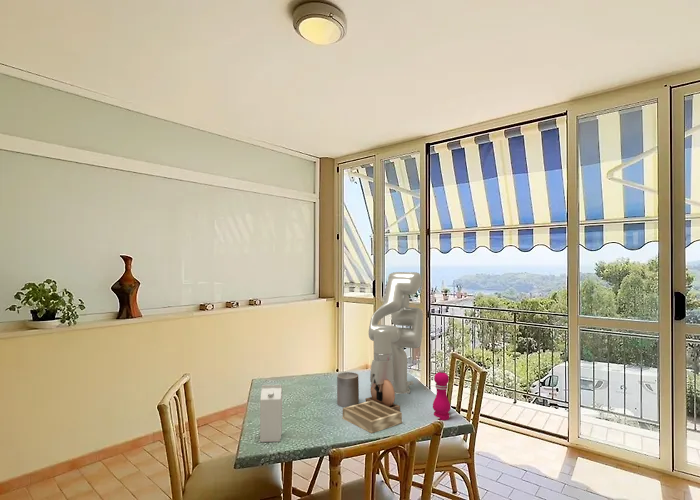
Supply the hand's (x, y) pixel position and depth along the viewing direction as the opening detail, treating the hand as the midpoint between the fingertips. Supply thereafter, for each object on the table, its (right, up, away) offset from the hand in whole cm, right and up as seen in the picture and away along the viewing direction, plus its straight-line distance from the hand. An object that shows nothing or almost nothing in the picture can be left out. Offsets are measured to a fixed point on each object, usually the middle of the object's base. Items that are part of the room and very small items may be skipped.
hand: (382, 399), depth 173 cm
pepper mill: (+24, -5, -8) cm, 26 cm away
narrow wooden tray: (0, -5, 0) cm, 5 cm away
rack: (-5, -4, -14) cm, 16 cm away
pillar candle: (-15, -5, +5) cm, 17 cm away
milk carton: (-43, -4, -28) cm, 51 cm away
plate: (0, -4, 0) cm, 4 cm away
